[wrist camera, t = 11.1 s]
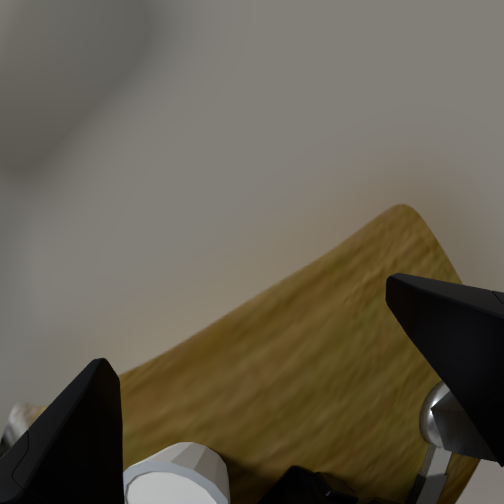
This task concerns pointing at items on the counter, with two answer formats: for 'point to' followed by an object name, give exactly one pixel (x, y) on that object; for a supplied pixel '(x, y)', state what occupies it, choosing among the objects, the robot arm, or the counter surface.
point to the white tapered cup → (178, 477)
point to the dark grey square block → (459, 429)
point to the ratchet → (431, 453)
